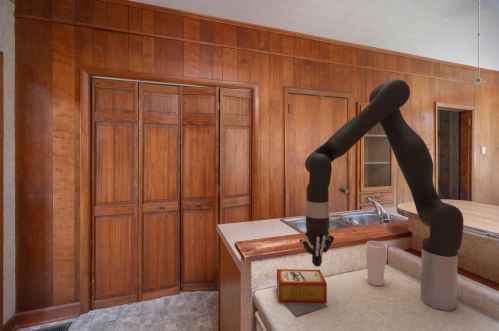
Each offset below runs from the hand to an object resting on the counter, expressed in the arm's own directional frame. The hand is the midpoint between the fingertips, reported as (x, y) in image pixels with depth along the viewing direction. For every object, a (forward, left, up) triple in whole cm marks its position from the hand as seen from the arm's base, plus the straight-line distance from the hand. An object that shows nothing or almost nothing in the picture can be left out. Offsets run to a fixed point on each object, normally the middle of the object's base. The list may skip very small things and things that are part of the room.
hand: (316, 265), depth 82 cm
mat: (+5, -1, -12) cm, 13 cm away
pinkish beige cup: (-27, 0, -12) cm, 30 cm away
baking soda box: (-4, -1, -9) cm, 9 cm away
